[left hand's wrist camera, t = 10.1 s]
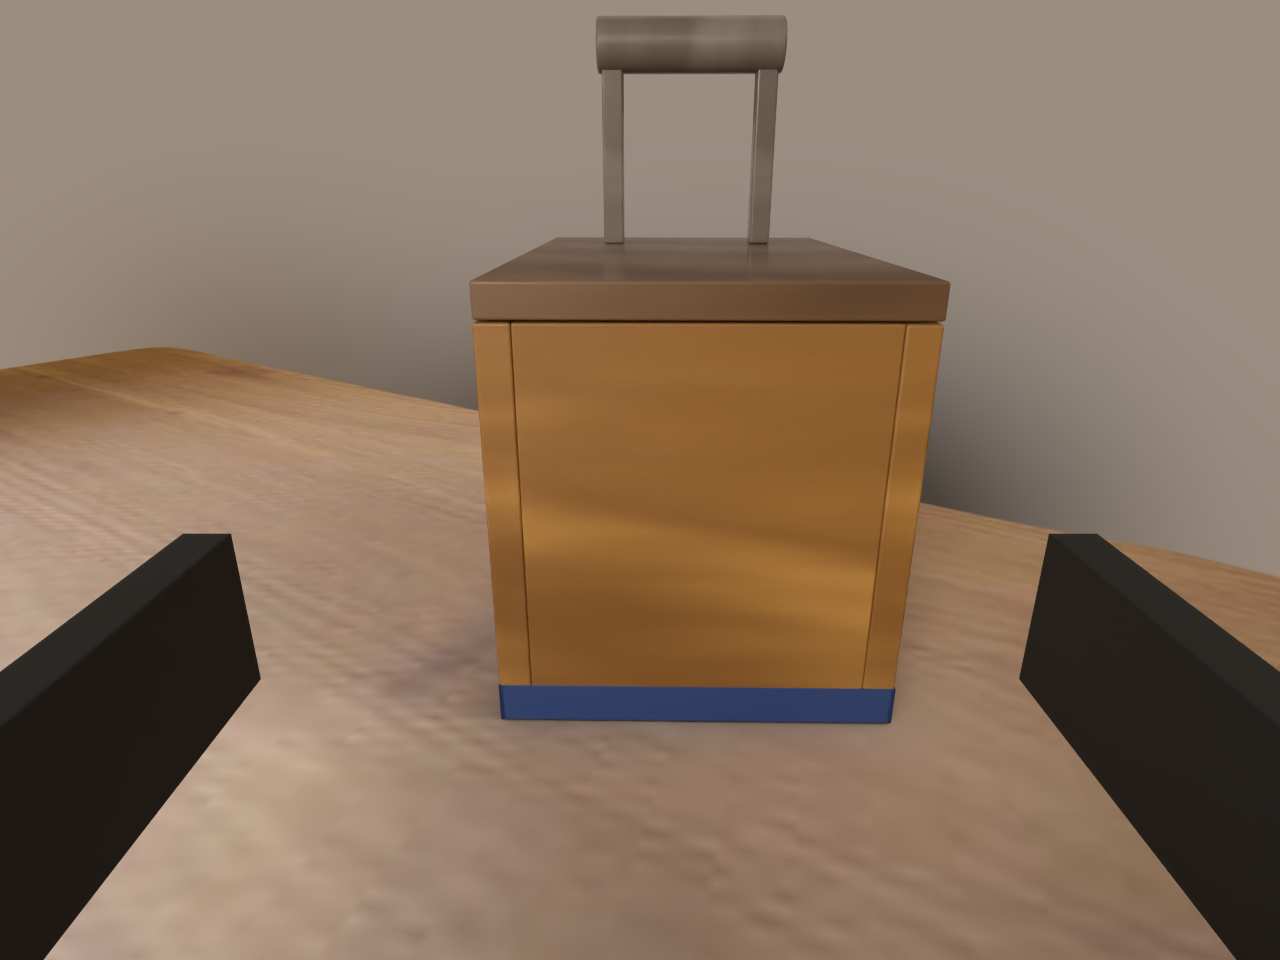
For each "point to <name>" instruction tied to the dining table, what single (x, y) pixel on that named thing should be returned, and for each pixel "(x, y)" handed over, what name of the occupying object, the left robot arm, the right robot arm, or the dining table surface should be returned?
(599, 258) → the lid
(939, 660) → the dining table surface
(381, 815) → the dining table surface
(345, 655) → the dining table surface
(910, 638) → the dining table surface
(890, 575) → the chest
